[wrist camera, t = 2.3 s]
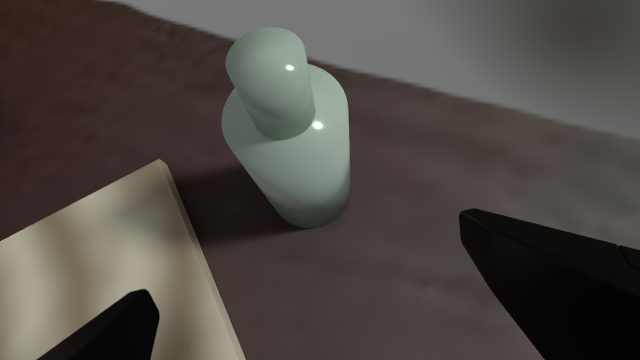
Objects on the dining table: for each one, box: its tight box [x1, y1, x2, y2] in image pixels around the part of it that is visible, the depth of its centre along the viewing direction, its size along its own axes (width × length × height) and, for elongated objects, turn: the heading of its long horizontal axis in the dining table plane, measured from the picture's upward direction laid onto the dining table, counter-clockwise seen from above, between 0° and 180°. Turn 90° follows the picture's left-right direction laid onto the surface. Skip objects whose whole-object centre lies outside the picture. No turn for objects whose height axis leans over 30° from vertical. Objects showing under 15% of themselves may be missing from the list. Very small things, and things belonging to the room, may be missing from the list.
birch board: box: [0, 159, 246, 360], centre depth 22 cm, size 18×16×1 cm
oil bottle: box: [222, 27, 351, 228], centre depth 18 cm, size 6×6×14 cm
